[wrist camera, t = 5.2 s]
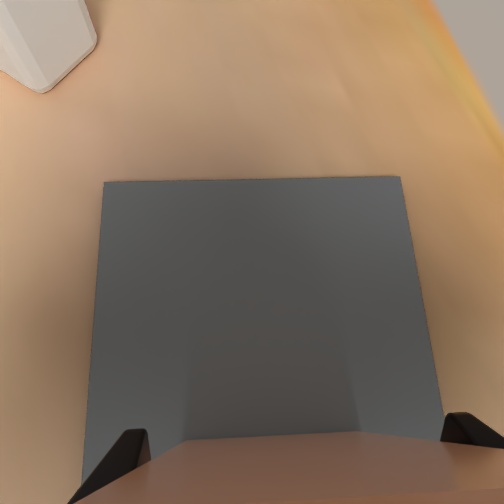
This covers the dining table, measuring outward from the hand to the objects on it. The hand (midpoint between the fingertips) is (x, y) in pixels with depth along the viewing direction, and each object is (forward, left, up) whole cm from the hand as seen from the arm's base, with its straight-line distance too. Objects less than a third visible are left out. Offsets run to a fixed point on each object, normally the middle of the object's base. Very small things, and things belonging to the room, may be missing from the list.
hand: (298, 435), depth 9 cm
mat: (+2, -1, -7) cm, 7 cm away
